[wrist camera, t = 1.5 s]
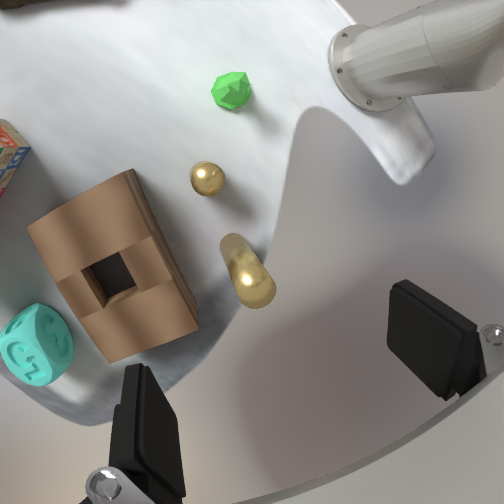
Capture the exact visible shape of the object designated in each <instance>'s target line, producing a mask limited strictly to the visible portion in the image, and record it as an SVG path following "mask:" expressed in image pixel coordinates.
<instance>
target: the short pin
mask: <svg viewBox="0 0 504 504" xmlns="http://www.w3.org/2000/svg"><path fill="white" fill-rule="evenodd" d="M190 179H191V183H192V186H193V188H194V190H195V191H196V192H197V193H198V194H200V195H202V196H213V195H216V194H217V193H219V192H220V191H221V190H222V188H223V186H224V183H225V175H224V172H223V171H222V169H221V168H220V167H219V166H217V165H215V164H213V163H211V162H207V161H202V162H199V163H197V164H196V165H194V167H193V168H192V170H191V172H190Z"/></svg>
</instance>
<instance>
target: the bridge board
mask: <svg viewBox="0 0 504 504" xmlns="http://www.w3.org/2000/svg"><path fill="white" fill-rule="evenodd" d="M26 228H27V230H28V232H29V234H30V237H31V239H32V241H33V243H34V245H35V247H36V249H37V251H38V253H39V255H40V256H41V258H42V260H43V262H44V264H45V266H46V268H47V269H48V271H49V273H50V275H51V277H52V278H53V280H54V282H55V284H56V285H57V287H58V289H59V290H60V292H61V294H62V295H63V297H64V299H65V300H66V302H67V303H68V305H69V307H70V308H71V310H72V311H73V313H74V314H75V316H76V317H77V319H78V320H79V322H80V323H81V325H82V326H83V328H84V329H85V331H86V332H87V334H88V335H89V336H90V338H91V339H92V341H93V342H94V343H95V345H96V346H97V347H98V349H99V350H100V351H101V353H102V354H103V355H104V357H105V358H106V359H107V361H108V362H109V363H113V362H115V361H118V360H121V359H124V358H127V357H129V356H132V355H135V354H137V353H140V352H143V351H146V350H148V349H151V348H153V347H156V346H159V345H161V344H164V343H167V342H169V341H172V340H174V339H177V338H179V337H182V336H184V335H187V334H189V333H192V332H194V331H197V330H199V329H200V328H199V320H198V313H197V305H196V302H195V300H194V298H193V296H192V294H191V292H190V290H189V288H188V286H187V284H186V282H185V280H184V278H183V276H182V274H181V272H180V270H179V268H178V266H177V264H176V262H175V260H174V258H173V256H172V254H171V252H170V250H169V248H168V246H167V244H166V242H165V239H164V237H163V235H162V233H161V231H160V229H159V227H158V224H157V222H156V220H155V218H154V216H153V214H152V211H151V209H150V207H149V205H148V202H147V200H146V198H145V196H144V193H143V191H142V189H141V186H140V184H139V182H138V179H137V177H136V175H135V172H134V170H133V169H130V170H127V171H125V172H122V173H120V174H118V175H116V176H114V177H112V178H110V179H108V180H106V181H104V182H102V183H101V184H99V185H97V186H95V187H93V188H91V189H89V190H88V191H86V192H84V193H82V194H80V195H79V196H77V197H75V198H73V199H72V200H70V201H68V202H66V203H65V204H63V205H61V206H60V207H58V208H56V209H55V210H53V211H51V212H50V213H48V214H47V215H45V216H43V217H42V218H40V219H39V220H37V221H36V222H34V223H32V224H31V225H29V226H28V227H26ZM118 251H119V253H120V255H121V257H122V259H123V261H124V263H125V264H126V266H127V268H128V270H129V272H130V274H131V276H132V277H133V279H134V281H135V283H136V286H134V287H132V288H129V289H127V290H125V291H123V292H120V293H118V294H116V295H114V296H111V297H109V298H108V297H107V295H106V293H105V292H104V290H103V288H102V287H101V285H100V283H99V281H98V280H97V278H96V276H95V274H94V273H93V271H92V269H91V267H90V265H92V264H94V263H96V262H98V261H100V260H102V259H104V258H106V257H108V256H110V255H112V254H114V253H116V252H118Z"/></svg>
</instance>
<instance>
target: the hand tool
mask: <svg viewBox="0 0 504 504" xmlns="http://www.w3.org/2000/svg"><path fill="white" fill-rule="evenodd" d="M40 1H47V0H0V9H13V8H20V7H22V6H23V5H24V4H28V3H34V2H40Z"/></svg>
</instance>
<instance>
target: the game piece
mask: <svg viewBox="0 0 504 504" xmlns="http://www.w3.org/2000/svg"><path fill="white" fill-rule="evenodd" d="M249 85H250V83H249V80H248V78H247V75H246V72H231V73H228V74H226V75H223V76H220V77H217V79H216V81H215V84H214V86H213V88H212V90H211V93H212V95H213V98H214V100H215V102H216V104H217V105H220V106H222V107H225V108H227V109H230V110H231V109H233V108H236V107H239V106H241V105H244V104H245V103H246V101H247V98H248V96H249V94H250V92H251V90H250V88H249Z"/></svg>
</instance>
